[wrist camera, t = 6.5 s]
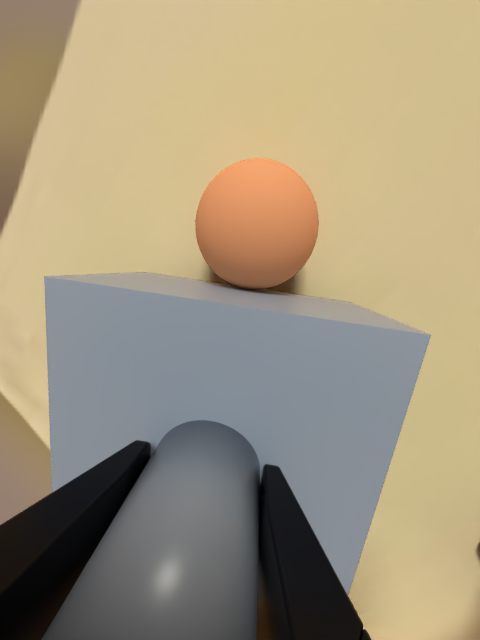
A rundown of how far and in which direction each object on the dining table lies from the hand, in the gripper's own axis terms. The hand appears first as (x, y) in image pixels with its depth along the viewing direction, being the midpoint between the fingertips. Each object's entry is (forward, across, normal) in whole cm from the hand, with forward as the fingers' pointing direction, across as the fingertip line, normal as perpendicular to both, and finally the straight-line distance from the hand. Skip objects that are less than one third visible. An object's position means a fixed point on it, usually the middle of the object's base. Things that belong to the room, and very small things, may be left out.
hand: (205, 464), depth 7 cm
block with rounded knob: (+6, 0, +1) cm, 6 cm away
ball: (+5, 0, -7) cm, 9 cm away
